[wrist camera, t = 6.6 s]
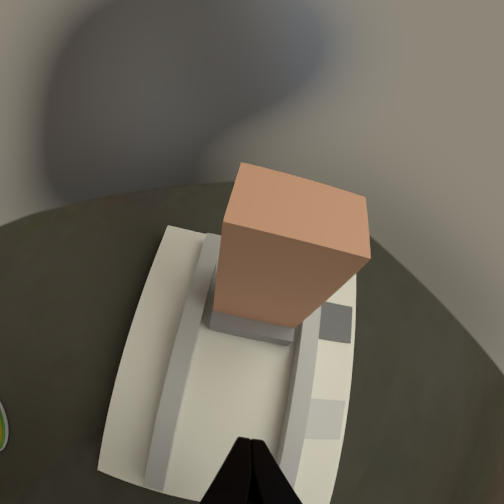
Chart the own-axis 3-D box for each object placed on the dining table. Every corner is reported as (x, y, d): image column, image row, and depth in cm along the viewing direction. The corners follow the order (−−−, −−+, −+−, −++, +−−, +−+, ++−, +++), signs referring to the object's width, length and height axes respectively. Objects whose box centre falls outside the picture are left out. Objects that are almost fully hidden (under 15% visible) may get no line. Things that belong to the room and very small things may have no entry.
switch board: (318, 501, 11) (335, 513, 9) (105, 464, 11) (91, 473, 9) (346, 279, 20) (362, 263, 17) (169, 237, 19) (166, 216, 17)
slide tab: (286, 345, 15) (371, 281, 7) (209, 329, 15) (216, 244, 7) (294, 282, 17) (363, 182, 9) (224, 266, 17) (245, 149, 9)
